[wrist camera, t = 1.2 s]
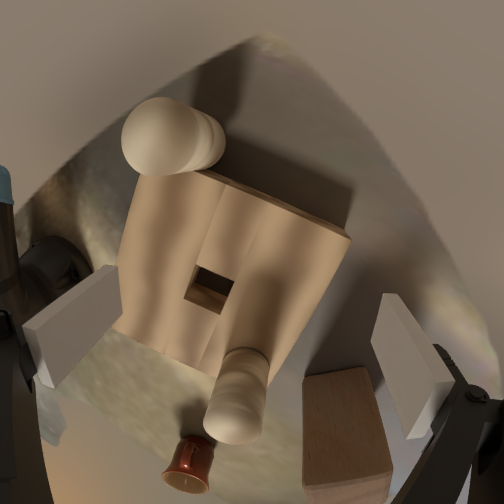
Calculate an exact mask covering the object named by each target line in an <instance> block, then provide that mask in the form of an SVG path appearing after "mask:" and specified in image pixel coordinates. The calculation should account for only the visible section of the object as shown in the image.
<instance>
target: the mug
mask: <svg viewBox="0 0 504 504" xmlns="http://www.w3.org/2000/svg"><path fill="white" fill-rule="evenodd" d="M213 459H214V447H213V446H212V444H211V443H210V442H208V441H207V440H205V439H204V438H201V437H198V436H186V437H183V438H182V439H181V440H180V442H179V443H178V445H177V447H176V450H175V453H174V455H173V459H172V462H171V464H170V465H169V467H168V468H167V469H166V470H165V471H164V472H163V474H162V479H163V481H164V482H165V483H166V484H167V485H169V486H170V487H172V488H174V489H177V490H178V491H181V492H185V493H189V494H204V493H206V492H208V490H209V483H208V475H209V471H210V468H211V465H212V462H213Z"/></svg>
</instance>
